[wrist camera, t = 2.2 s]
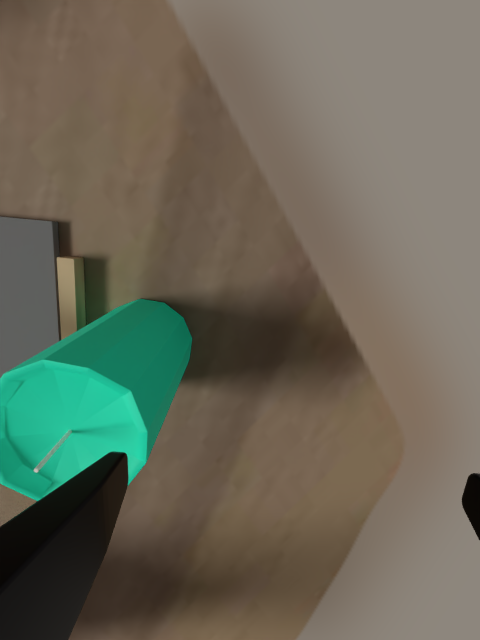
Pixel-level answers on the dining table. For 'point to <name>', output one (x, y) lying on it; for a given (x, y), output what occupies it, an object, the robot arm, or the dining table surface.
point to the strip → (71, 294)
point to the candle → (91, 397)
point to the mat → (28, 289)
